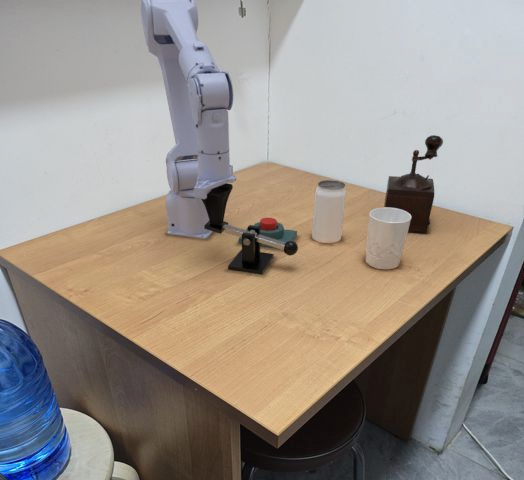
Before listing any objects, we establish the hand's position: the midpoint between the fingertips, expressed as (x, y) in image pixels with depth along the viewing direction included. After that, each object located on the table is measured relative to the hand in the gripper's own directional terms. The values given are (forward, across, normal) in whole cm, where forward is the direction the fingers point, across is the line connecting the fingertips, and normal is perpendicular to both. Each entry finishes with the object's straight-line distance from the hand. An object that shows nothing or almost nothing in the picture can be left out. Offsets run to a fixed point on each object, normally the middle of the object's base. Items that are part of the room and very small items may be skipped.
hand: (216, 223), depth 94 cm
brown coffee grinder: (+8, +34, -35) cm, 49 cm away
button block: (+8, +12, -7) cm, 16 cm away
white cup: (+8, +9, -32) cm, 34 cm away
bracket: (+8, 0, -7) cm, 10 cm away
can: (+8, +17, -19) cm, 27 cm away
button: (+5, +12, -7) cm, 15 cm away
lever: (+3, 0, -7) cm, 8 cm away
